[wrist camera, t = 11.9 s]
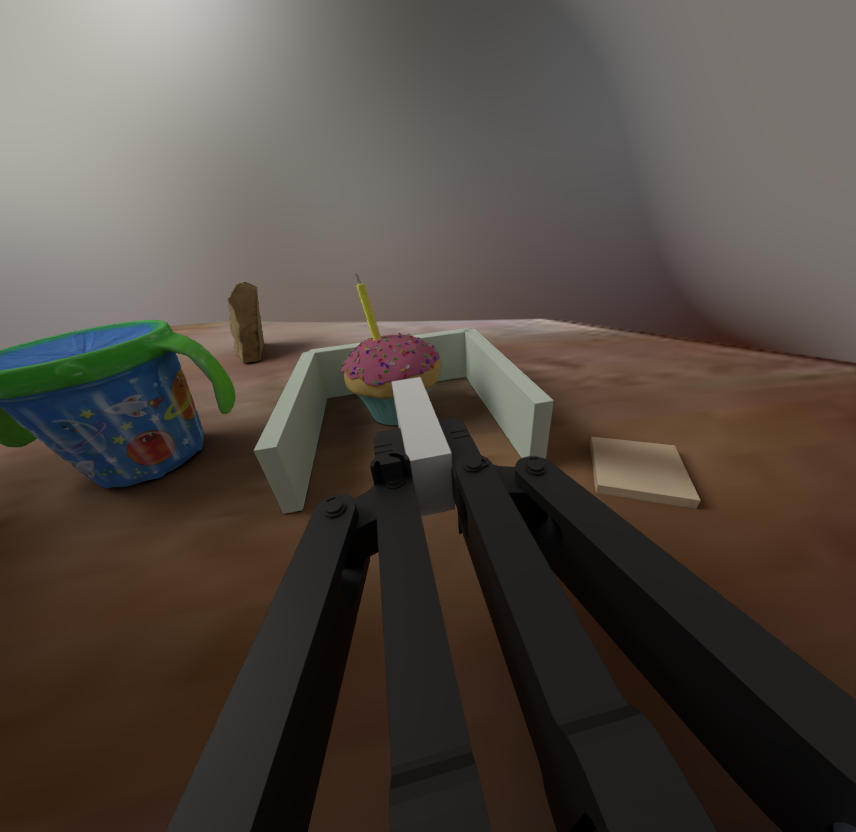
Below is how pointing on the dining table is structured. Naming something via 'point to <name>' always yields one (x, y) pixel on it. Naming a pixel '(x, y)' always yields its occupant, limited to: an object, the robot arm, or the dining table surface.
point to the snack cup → (109, 399)
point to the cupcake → (387, 365)
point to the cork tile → (641, 472)
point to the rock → (246, 322)
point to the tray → (321, 378)
